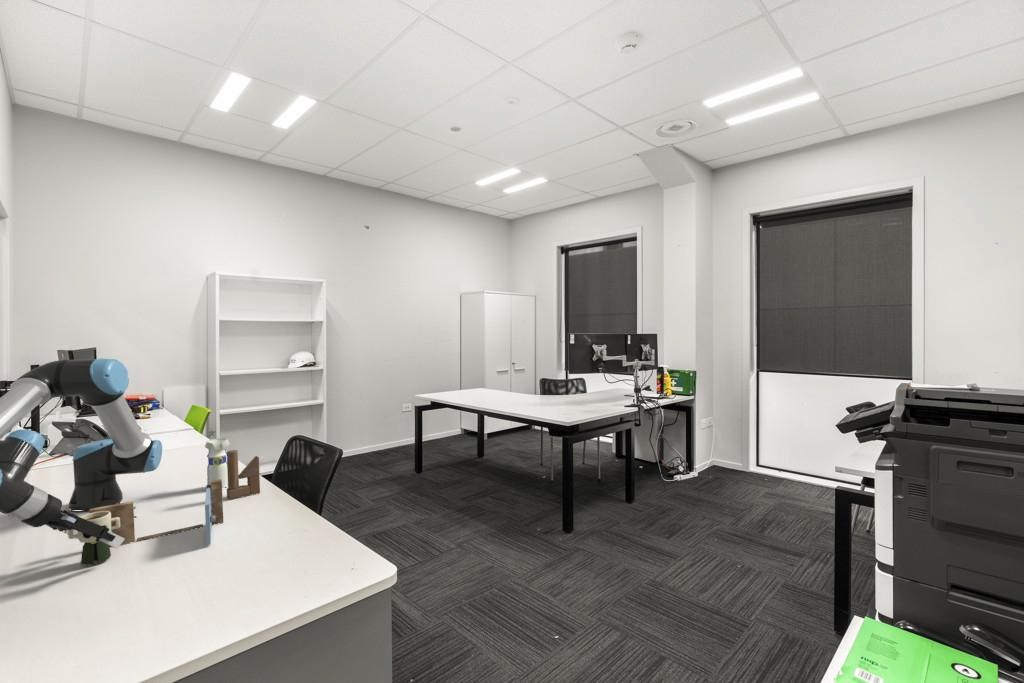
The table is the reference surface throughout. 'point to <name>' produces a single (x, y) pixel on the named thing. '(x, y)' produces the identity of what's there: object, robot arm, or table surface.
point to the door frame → (128, 532)
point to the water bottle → (217, 459)
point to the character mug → (91, 546)
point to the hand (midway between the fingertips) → (104, 540)
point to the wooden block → (242, 476)
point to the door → (208, 516)
